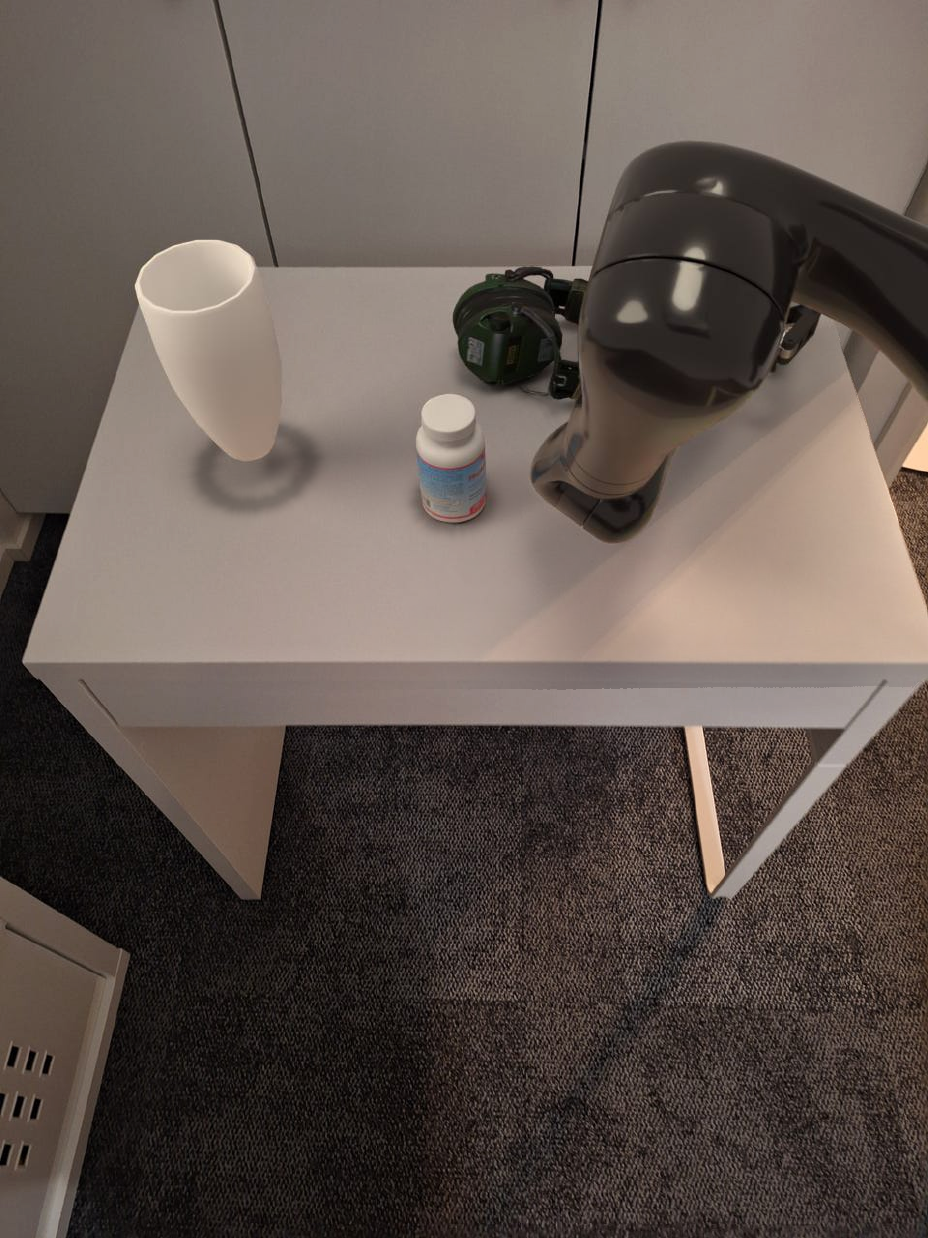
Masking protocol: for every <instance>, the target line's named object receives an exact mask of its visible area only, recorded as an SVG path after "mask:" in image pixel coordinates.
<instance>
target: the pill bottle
mask: <svg viewBox="0 0 928 1238" xmlns="http://www.w3.org/2000/svg"><path fill="white" fill-rule="evenodd" d="M475 408H476V407H475V406H474V404H473V403H472V402H471V400H469V398H466V397H465V396H462V395H460V394H455V393H444V394H439V395H436V396H434V397H432V398H430V399H429V400H428V401H427V402H426V403H425V404H424V405H423V407H422V409H421V415H420V416H421V425H420V427H419V429H418V431H417V433H416V437H415V448H416V449H415V450H416V459H417V468H418V479H419V488H420V495H421V504H422V506H423V508H424V510H425V511H426V512H427V514H428V515H430V516H431V517H432V518H433V519H435V520H437V521H440V522H443V523H461V522H465V521H468V520H472V519H473V518H475V517H476V516H477V515H479V514H480V513H481V511H482V510H483V509H484V507H485V505H486V502H487V462H486V460H487V459H486V438H485V433H484V431H483V428H482V427H481V425H480V424H479V423H478V421H477V414H476V413H477V412H476V409H475Z"/></svg>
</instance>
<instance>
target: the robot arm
mask: <svg viewBox="0 0 928 1238" xmlns="http://www.w3.org/2000/svg"><path fill="white" fill-rule="evenodd" d="M596 249H597V250H596V252H595V253H596V254H595V256H594V260H593V263H592V266H591V270H590V273H589V278H588V280H587V281H588V284H587V287H586V290H585V293H584V296H583V300H582V304H581V309H580V314H579V323H578V325H577V362H578V363H579V375H580V383H581V390H582V393H581V395H580V396H579V397H578V399H576V400H575V403H574V405H573V408H572V411H571V413H570V414H569V418H568V421H566V422H565V423H563V424H562V425H560V426H559V427H558V428H556V429H555V430H553V432H551V434H550V435H548V436H547V437H546V439H545V440H544V441H543V442H542V444H541V445H540V446H539V447H538V449H537V451H536V452H535V454H534V456H533V458H532V462H531V464H530V468H529V479H530V483H531V485H532V487H533V489H534V491H535V492H536V494H537V495H538V496H539V497H540V498H541V499H543V500H544V501H545V502H547V503H548V504H549V505H550V506H552V507H553V508H555V509H556V510H557V511H559V512H560V513H561V514H562V515H564V516H565V517H566V518H568V519H569V520H571V521H572V522H573V523H575V525H578V526H579V527H582V529H583V530H584V531H585V532H587V533H588V534H589V535H591V536H592V537H594V538H595V539H597V540H598V541H600V542H602V543H605V544H609V545H611V544H612V545H617V544H622V543H624V542H627V541H630V540H632V539H633V538H635V537H636V536H638V535H639V534H640V533H642V532H643V530H644V529H645V528H646V527H647V525H648V524H649V522H650V521H651V519H652V517H653V515H654V513H655V511H656V508H657V505H658V503H659V500H660V498H661V495H662V491H663V487H664V484H665V481H666V477H667V473H668V470H669V467H670V464H671V463H672V460H673V457H674V455H675V453H676V452H677V449H678V448H679V447H680V446H682V445H683V444H685V443H687V442H689V441H690V440H692V439H693V438H695V437H696V436H698V435H700V434H701V433H703V432H705V431H706V430H708V429H710V428H711V427H713V426H715V425H716V424H718V423H720V422H721V421H723V420H724V419H726V418H728V417H729V416H731V415H732V414H734V413H735V412H736V411H737V410H739V409H741V407H742V406H744V405H745V404H746V403H747V402H748V401H749V400H750V399H751V398H752V397H753V396H754V395H755V394H756V393H757V392H758V390H759V389H760V388H761V387H762V385H763V384H764V383H765V381H766V379H767V377H768V376H769V374H770V373H771V372H770V370H771V368H772V366H773V363H774V361H775V358H776V356H777V359H776V361H777V364H779V365H781V366H787V365H789V364H790V363H791V362H792V361H793V360H794V358H795V357H796V356H797V355H798V354H799V352H801V350H802V349H803V348H804V347H805V346H806V345H807V343H808V342H809V341H810V340H811V339H812V337H813V336H814V335H815V332H816V330H817V327H818V324H819V321H820V319H821V315H822V316H825V317H827V318H828V319H831V320H833V321H835V322H837V323H840V324H842V325H843V326H845V327H847V328H848V329H850V330H851V331H852V332H855V333H856V334H858V335H860V337H862V338H863V339H865V340H866V341H868V342H869V343H870V344H872V345H873V346H874V347H875V348H876V349H877V350H879V351H880V352H881V354H883V355H884V356H886V358H887V359H888V360H889V361H890V362H891V363H892V365H894V366H895V367H896V368H897V370H899V372H900V373H901V374H902V375H903V376H904V377H905V379H906V380H907V382H908V383H909V384H910V385H911V386H912V387H913V389H914V390H915V391H916V393H918V395H919V396H920V397H921V398H922V400H923V401H924V402H925V403H926V405H928V225H925V224H923V223H921V222H919V221H916V220H914V219H912V218H910V217H909V216H906V215H903V214H901V213H899V212H897V211H894V210H892V209H891V208H888V207H886V206H884V205H882V204H880V203H877V202H875V201H873V200H871V199H868V198H867V197H864V196H862V195H860V194H858V193H855V192H853V191H852V190H849V189H847V188H844V187H843V186H840V185H839V184H836V183H834V182H832V181H829V180H827V179H826V178H823V177H820V176H818V175H816V174H814V173H811V172H809V171H807V170H804V169H802V168H801V167H797V166H795V165H793V164H791V163H788V162H786V161H783V160H781V159H779V158H776V157H773V156H771V155H767V154H765V153H762V152H759V151H755V150H751V149H747V148H744V147H740V146H735V145H731V144H727V143H723V142H715V141H704V140H703V141H702V140H689V139H688V140H687V139H686V140H678V141H671V142H664V143H661V144H658V145H655V146H653V147H650V148H648V149H645V150H644V151H642V152H641V153H639V154H638V155H636V157H634V158H633V159H631V161H630V162H629V163H628V164H627V166H625V168H624V169H623V171H622V173H621V175H620V177H619V180H618V182H617V184H616V186H615V190H614V193H613V196H612V199H611V203H610V206H609V209H608V213H607V215H606V219H605V222H604V225H603V229H602V233H601V236H600V240H599V243H598V246H597V248H596ZM784 328H785V329H784ZM789 328H790V329H789ZM777 354H778V355H777Z"/></svg>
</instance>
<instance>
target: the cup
mask: <svg viewBox="0 0 928 1238" xmlns="http://www.w3.org/2000/svg"><path fill="white" fill-rule="evenodd" d="M134 290H135V293H136V297H137V301H138V304H139V307H140V310H141V313H142V315H143V318H144V321H145V324H146V327H147V330H148V333H149V336H150V339H151V341H152V344H153V347H154V351H155V352H156V354H157V357H158V359H159V361H160V364H161V365H162V368H163V370H164V372H165V374H166V377H167V378H168V381H169V383H170V385H171V387H172V389H173V392H174V393H175V395H176V396H177V397H178V399H179V400H180V401H181V403H182V405H183V406H184V407H185V408H186V410H187V412H188V413H189V414H190V415H191V417H192V419H193V420H194V422H195V423H196V424H197V425H198V426H199V428H200V429H202V431H203V432H204V433H205V434H206V435H207V436H208V437H209V438H210V439H211V440H212V441H213V442H214V444H215V445H217V446H218V447H219V448H220V449H221V450H222V451H223V452H224V453H226V454H227V455H228V456H230V458H232V459H234V460H237V461H240V462H252V461H253V462H254V461H256V460H260V459H262V458H263V457H265V456H266V455H268V454H269V453H270V451H272V449H273V448H274V443H275V440H276V438H277V434H278V430H279V425H280V417H281V412H282V411H281V410H282V403H283V370H282V369H283V367H282V366H283V364H282V357H281V353H280V348H279V343H278V342H279V341H278V338H277V333H276V328H275V327H276V326H275V323H274V322H275V321H274V318H273V315H272V312H271V309H270V306H269V305H270V304H269V302H268V299H267V295H266V291H265V288H264V285H263V281H262V279H261V275H260V272H259V269H258V266H257V263H256V261H255V258H254V256H253V255H251V254H250V253H248V252H247V251H246V250H244V249H243V248H242V247H241V246H239V245H238V244H235V243H231V242H228V241H224V240H220V239H194V240H191V241H187V242H182V243H178V244H174V245H172V246H169V247H168V248H166V249H164V250H162V251H159V252H158V253H155V254H154V255H153V256H152V257H151V258H150V259H149V260H148V261H147V262H146V263H145V264H144V265H143V266H142V267H141V268H140V271H139V273H138V275H137V278H136V281H135V284H134Z"/></svg>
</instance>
